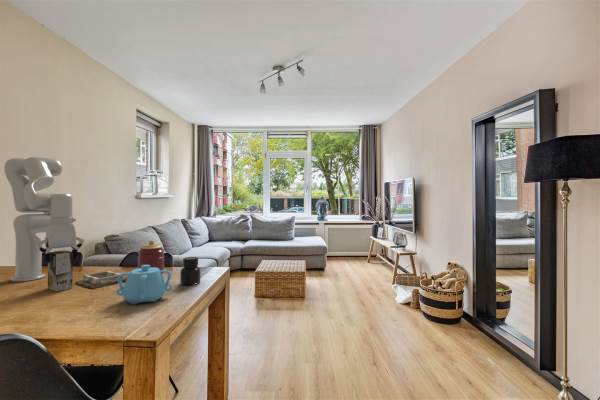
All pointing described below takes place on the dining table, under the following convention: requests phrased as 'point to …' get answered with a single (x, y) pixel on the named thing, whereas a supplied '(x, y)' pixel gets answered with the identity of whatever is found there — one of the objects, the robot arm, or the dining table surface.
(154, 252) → the canister
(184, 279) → the ink bottle
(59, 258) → the coffee box
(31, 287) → the dining table surface
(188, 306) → the dining table surface
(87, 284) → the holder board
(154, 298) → the decorative pot
